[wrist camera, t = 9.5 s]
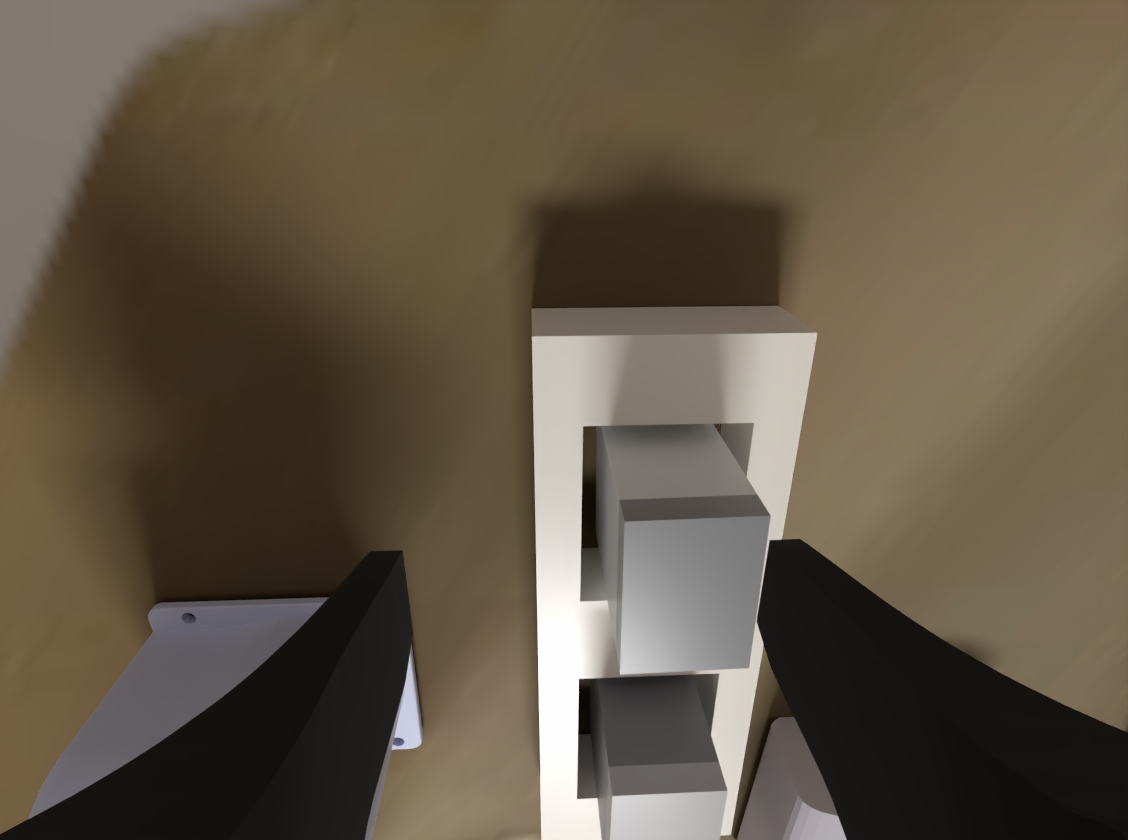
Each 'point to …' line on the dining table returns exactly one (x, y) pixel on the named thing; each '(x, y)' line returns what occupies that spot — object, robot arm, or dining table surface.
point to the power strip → (565, 570)
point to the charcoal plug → (654, 760)
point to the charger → (789, 792)
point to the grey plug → (678, 547)
